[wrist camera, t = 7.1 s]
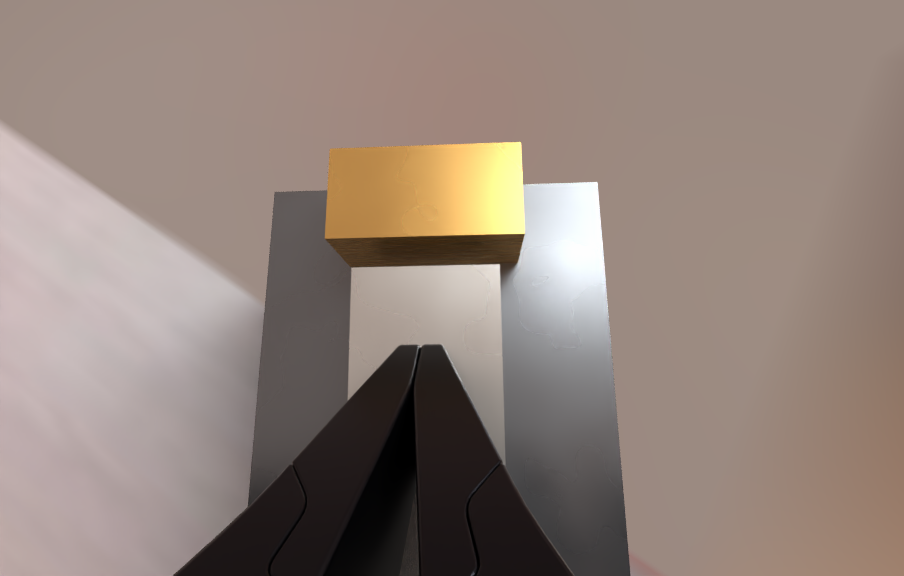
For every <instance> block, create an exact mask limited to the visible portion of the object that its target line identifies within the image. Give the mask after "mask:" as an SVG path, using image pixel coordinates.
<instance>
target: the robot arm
mask: <svg viewBox="0 0 904 576" xmlns="http://www.w3.org/2000/svg"><path fill="white" fill-rule="evenodd" d="M415 489H416V498H417V526H418V555H419V576H575V575H574V574H573V573H572V571H571V570H570V568H569V567H568V566H567V564H566V563H565V561H564V560H563V558H562V557H561V556H560V554H559V553H558V551H557V550H556V548H555V547H554V546H553V544H552V543H551V541H550V540H549V538H548V537H547V536H546V534H545V533H544V531H543V530H542V528H541V527H540V525H539V524H538V522H537V521H536V519H535V517H534V516H533V514H532V513H531V511H530V510H529V508H528V507H527V505H526V503H525V502H524V500H523V498H522V496H521V494H520V493H519V491H518V489H517V487H516V485H515V484H514V482H513V480H512V478H511V476H510V474H509V472H508V470H507V468H506V466H505V465H504V464H503V461H502V459H501V457H500V455H499V453H498V451H497V449H496V447H495V445H494V443H493V441H492V439H491V437H490V435H489V433H488V431H487V429H486V427H485V426H484V424H483V422H482V420H481V418H480V416H479V414H478V412H477V410H476V408H475V406H474V404H473V402H472V400H471V398H470V396H469V394H468V392H467V390H466V388H465V386H464V384H463V382H462V380H461V378H460V376H459V374H458V373H457V371H456V369H455V367H454V365H453V363H452V361H451V359H450V357H449V355H448V353H447V351H446V349H445V347H444V346H443V345H442V344H424V345H423V346H422V347H421V346H420V345H418V344H409V345H399V346H398V347H397V348H396V349H395V350H394V351H393V352H392V353H391V354H390V355H389V356H388V358H387V359H386V360H385V361H384V362H383V363H382V364H381V365H380V366H379V367H378V368H377V369H376V371H375V372H374V373H373V374H372V375H371V376H370V377H369V378H368V379H367V380H366V381H365V383H364V384H363V385H362V386H361V387H360V388H359V389H358V390H357V391H356V392H355V393H354V394H353V396H352V397H351V398H350V399H349V400H348V401H347V402H346V403H345V404H344V405H343V406H342V407H341V409H340V410H339V411H338V412H337V413H336V414H335V415H334V416H333V417H332V418H331V419H330V421H329V422H328V423H327V424H326V425H325V426H324V427H323V428H322V429H321V430H320V431H319V432H318V434H317V435H316V436H315V437H314V438H313V439H312V440H311V441H310V442H309V443H308V444H307V445H306V447H305V448H304V449H303V450H302V451H301V452H300V453H299V454H298V455H297V456H296V457H295V459H294V460H293V461H292V465H291V464H290V465H288V466H287V467H286V468H285V469H284V470H283V471H282V472H281V473H280V475H279V476H278V477H277V478H276V479H275V480H274V481H273V482H272V483H271V484H270V485H269V486H268V487H267V488H266V489H265V490H264V491H263V492H262V493H261V494H260V495H259V496H258V498H257V499H256V500H255V501H254V502H253V503H252V504H251V505H250V506H249V507H247V508H246V509H245V510H244V511H243V512H242V513H241V514H240V515H239V516H238V517H237V518H236V519H235V520H234V521H233V522H232V523H230V524H229V525H228V526H227V527H226V528H225V529H224V530H223V531H222V532H221V533H220V534H219V535H217V536H216V537H215V538H214V539H213V540H212V541H211V542H210V543H209V544H207V545H206V546H205V547H204V548H203V549H202V550H201V551H200V552H199V553H197V554H196V555H195V556H194V557H193V558H192V559H191V560H190V561H189V562H187V563H186V564H185V565H184V566H183V567H182V568H181V569H180V570H179V571H177V572H176V573H175V574H174V575H173V576H400V571H401V565H402V560H403V554H404V549H405V543H406V538H407V533H408V527H409V522H410V516H411V511H412V505H413V500H414V495H415Z"/></svg>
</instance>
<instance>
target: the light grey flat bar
mask: <svg viewBox="0 0 904 576" xmlns="http://www.w3.org/2000/svg"><path fill="white" fill-rule="evenodd" d="M409 344H418V345H420V346H421V347H422V346H423V345H424V344H442V345H443V346H444V347H445V349H446V351H447V353H448V355H449V357H450V359H451V361H452V363H453V365H454V367H455V369H456V371H457V373H458V374H459V376H460V378H461V380H462V382H463V384H464V386H465V388H466V390H467V392H468V394H469V396H470V398H471V400H472V402H473V404H474V406H475V408H476V410H477V412H478V414H479V416H480V418H481V420H482V422H483V424H484V426H485V427H486V429H487V431H488V433H489V435H490V437H491V439H492V441H493V443H494V445H495V447H496V449H497V451H498V453H499V455H500V457H501V459H502V461H503V464H504V465H505V466H506V461H505V427H504V392H503V357H502V322H501V288H500V264H487V265H444V266H400V267H356V268H351V301H350V336H349V371H348V400H349V399H350V398H351V397H352V396H353V394H354V393H355V392H356V391H357V390H358V389H359V388H360V387H361V386H362V385H363V384H364V383H365V381H366V380H367V379H368V378H369V377H370V376H371V375H372V374H373V373H374V372H375V371H376V369H377V368H378V367H379V366H380V365H381V364H382V363H383V362H384V361H385V360H386V359H387V358H388V356H389V355H390V354H391V353H392V352H393V351H394V350H395V349H396V348H397V347H398V346H399V345H409ZM400 576H419V555H418V526H417V498H416V489H415V495H414V500H413V505H412V511H411V516H410V522H409V527H408V533H407V538H406V543H405V549H404V554H403V560H402V565H401V571H400Z"/></svg>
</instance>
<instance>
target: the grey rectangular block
mask: <svg viewBox="0 0 904 576" xmlns="http://www.w3.org/2000/svg"><path fill="white" fill-rule="evenodd" d="M521 156H522V155H521V142H508V143H479V144H451V145H425V146H424V145H421V146H393V147H367V148H366V147H365V148H339V149H338V148H337V149H330V157H329V173H328V190H327V191H298V192H297V191H296V192H275V195H274V207H273V219H272V231H271V243H270V254H269V266H268V277H267V290H266V301H265V313H264V325H263V336H262V348H261V360H260V372H259V383H258V395H257V407H256V419H255V430H254V442H253V454H252V466H251V478H250V489H249V501H248V507H249V506H250V505H251V504H252V503H253V502H254V501H255V500H256V499H257V498H258V496H259V495H260V494H261V493H262V492H263V491H264V490H265V489H266V488H267V487H268V486H269V485H270V484H271V483H272V482H273V481H274V480H275V479H276V478H277V477H278V476H279V475H280V473H281V472H282V471H283V470H284V469H285V468H286V467H287V466H288V465H290V464H291V465H292V461H293V460H294V459H295V457H296V456H297V455H298V454H299V453H300V452H301V451H302V450H303V449H304V448H305V447H306V445H307V444H308V443H309V442H310V441H311V440H312V439H313V438H314V437H315V436H316V435H317V434H318V432H319V431H320V430H321V429H322V428H323V427H324V426H325V425H326V424H327V423H328V422H329V421H330V419H331V418H332V417H333V416H334V415H335V414H336V413H337V412H338V411H339V410H340V409H341V407H342V406H343V405H344V404H345V403H346V402H347V401H348V371H349V336H350V301H351V268H356V267H400V266H444V265H487V264H500V288H501V322H502V357H503V392H504V427H505V461H506V468H507V470H508V472H509V474H510V476H511V478H512V480H513V482H514V484H515V485H516V487H517V489H518V491H519V493H520V494H521V496H522V498H523V500H524V502H525V503H526V505H527V507H528V508H529V510H530V511H531V513H532V514H533V516H534V517H535V519H536V521H537V522H538V524H539V525H540V527H541V528H542V530H543V531H544V533H545V534H546V536H547V537H548V538H549V540H550V541H551V543H552V544H553V546H554V547H555V548H556V550H557V551H558V553H559V554H560V556H561V557H562V558H563V560H564V561H565V563H566V564H567V566H568V567H569V568H570V570H571V571H572V573H573V574H574V575H575V576H630V566H629V554H628V542H627V531H626V518H625V506H624V494H623V482H622V470H621V458H620V447H619V435H618V423H617V412H616V399H615V388H614V375H613V363H612V351H611V340H610V328H609V317H608V316H609V315H608V303H607V291H606V280H605V268H604V257H603V244H602V232H601V220H600V210H599V209H600V208H599V197H598V185H597V182H585V183H553V184H523V178H522V157H521Z"/></svg>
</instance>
